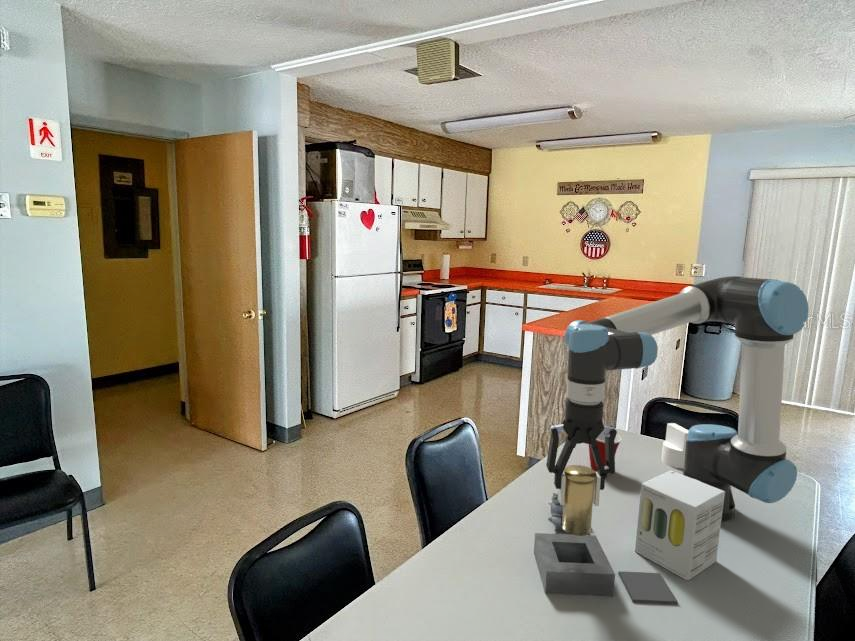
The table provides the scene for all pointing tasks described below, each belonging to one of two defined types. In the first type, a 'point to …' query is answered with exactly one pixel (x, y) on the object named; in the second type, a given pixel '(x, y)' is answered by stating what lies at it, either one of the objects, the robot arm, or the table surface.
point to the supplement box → (679, 523)
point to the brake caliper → (556, 512)
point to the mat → (647, 587)
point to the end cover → (578, 500)
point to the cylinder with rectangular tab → (674, 446)
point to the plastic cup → (602, 449)
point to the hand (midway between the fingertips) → (578, 502)
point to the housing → (573, 565)
